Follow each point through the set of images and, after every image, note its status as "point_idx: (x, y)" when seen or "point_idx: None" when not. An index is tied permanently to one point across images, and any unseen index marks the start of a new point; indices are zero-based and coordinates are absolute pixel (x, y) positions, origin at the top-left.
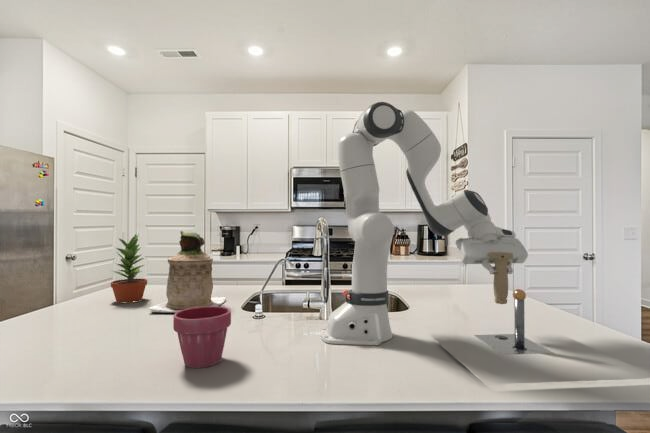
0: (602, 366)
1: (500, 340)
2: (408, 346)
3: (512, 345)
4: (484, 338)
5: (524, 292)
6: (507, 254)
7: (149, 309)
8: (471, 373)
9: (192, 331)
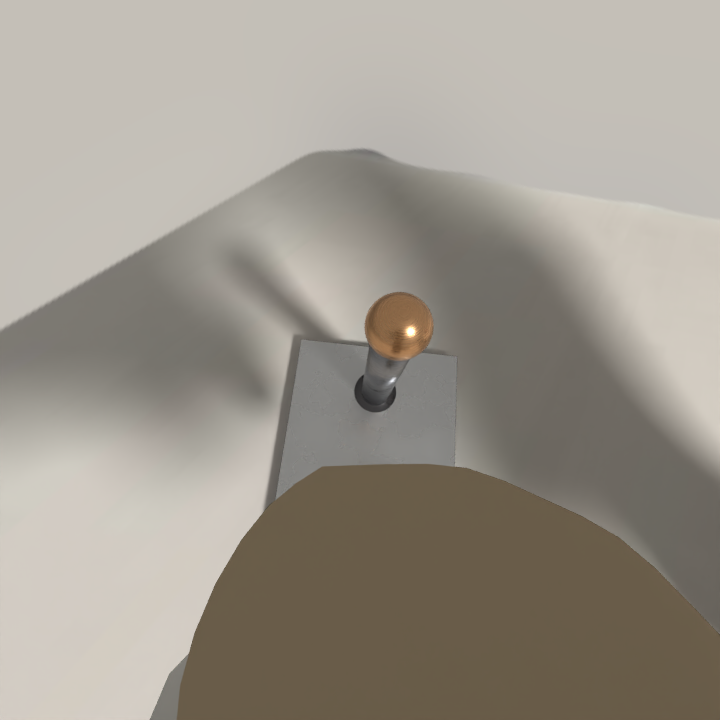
0: (233, 273)
1: None
2: (708, 518)
3: (380, 418)
4: None
5: (383, 297)
6: (436, 467)
7: None
8: (579, 299)
9: None
